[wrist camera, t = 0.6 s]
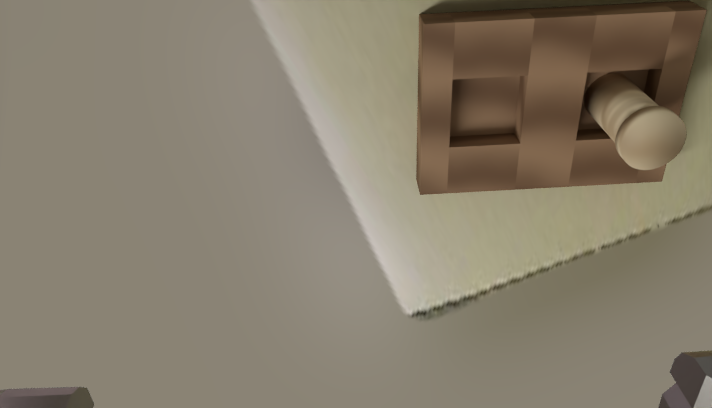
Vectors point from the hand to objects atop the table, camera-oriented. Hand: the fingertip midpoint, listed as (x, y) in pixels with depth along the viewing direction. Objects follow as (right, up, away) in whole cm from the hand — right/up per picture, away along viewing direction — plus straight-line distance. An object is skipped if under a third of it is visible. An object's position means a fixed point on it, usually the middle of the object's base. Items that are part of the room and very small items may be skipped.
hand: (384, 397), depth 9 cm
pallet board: (+14, +11, +41) cm, 45 cm away
